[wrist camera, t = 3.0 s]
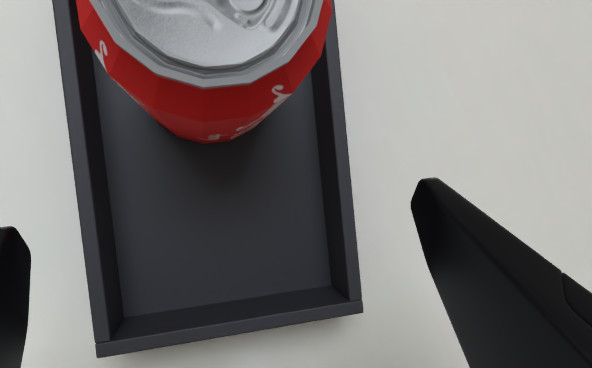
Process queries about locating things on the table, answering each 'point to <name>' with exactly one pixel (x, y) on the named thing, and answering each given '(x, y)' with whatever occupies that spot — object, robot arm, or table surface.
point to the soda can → (207, 57)
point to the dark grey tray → (208, 210)
